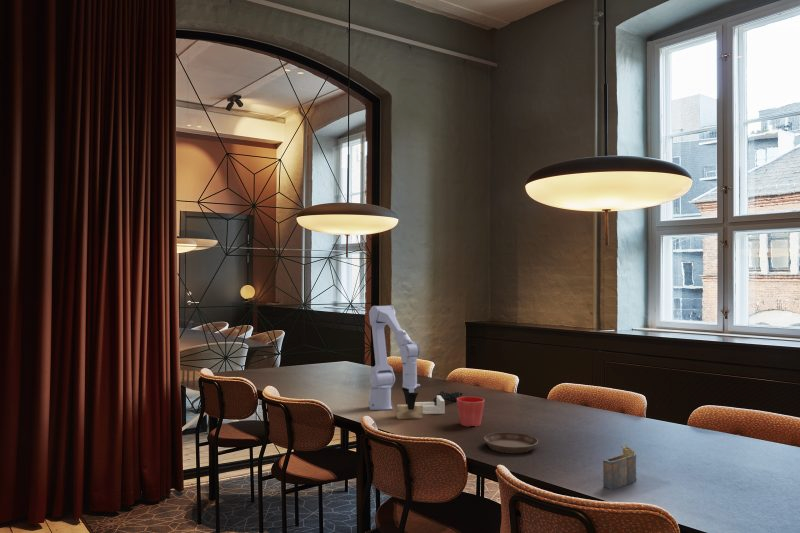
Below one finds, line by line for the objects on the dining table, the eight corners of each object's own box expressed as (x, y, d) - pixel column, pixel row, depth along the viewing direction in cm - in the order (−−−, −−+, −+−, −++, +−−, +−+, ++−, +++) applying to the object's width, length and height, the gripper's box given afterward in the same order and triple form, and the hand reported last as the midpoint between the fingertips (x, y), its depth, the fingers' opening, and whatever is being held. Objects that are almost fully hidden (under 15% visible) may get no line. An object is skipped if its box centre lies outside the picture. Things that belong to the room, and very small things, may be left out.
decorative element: (440, 408, 263) (440, 395, 263) (430, 407, 265) (430, 393, 265) (464, 401, 281) (464, 388, 282) (454, 400, 284) (454, 387, 284)
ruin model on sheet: (626, 479, 172) (626, 445, 172) (636, 482, 169) (635, 447, 170) (601, 488, 165) (601, 451, 165) (611, 491, 163) (611, 454, 163)
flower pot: (488, 422, 237) (488, 397, 237) (479, 429, 227) (479, 402, 227) (462, 419, 242) (462, 395, 242) (452, 426, 232) (452, 400, 232)
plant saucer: (549, 450, 200) (549, 440, 201) (508, 458, 191) (508, 449, 191) (512, 438, 215) (512, 429, 215) (473, 445, 206) (473, 436, 206)
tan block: (397, 419, 244) (397, 406, 244) (397, 416, 248) (397, 404, 248) (422, 418, 245) (422, 406, 245) (421, 416, 249) (421, 403, 249)
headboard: (411, 414, 252) (411, 401, 252) (408, 408, 264) (408, 395, 264) (444, 413, 253) (444, 400, 253) (440, 407, 265) (440, 395, 265)
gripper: (421, 376, 240) (422, 411, 240) (417, 370, 254) (417, 403, 254) (403, 376, 239) (404, 411, 239) (400, 371, 254) (400, 403, 254)
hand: (409, 407), depth 247 cm, fingers open, 7 cm apart
